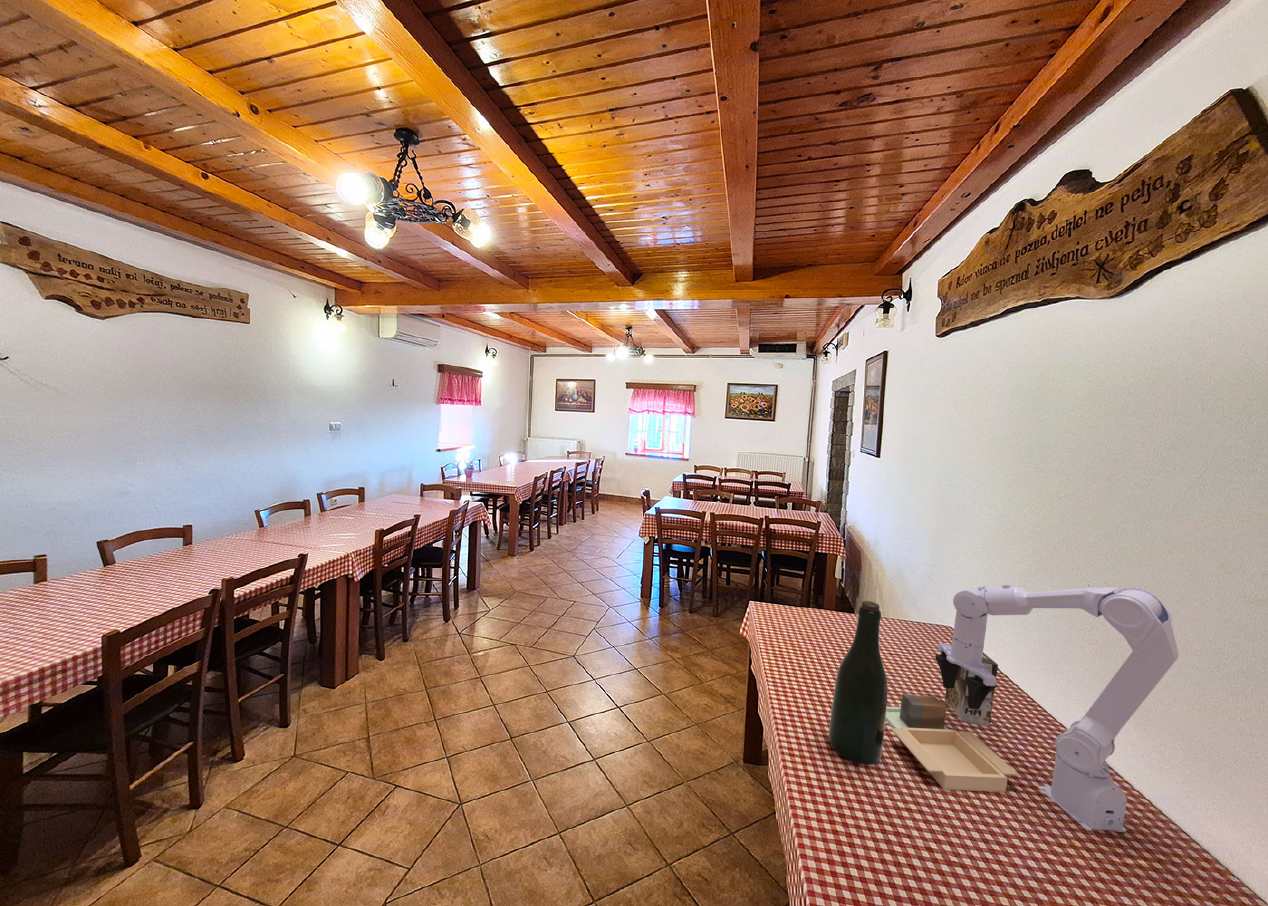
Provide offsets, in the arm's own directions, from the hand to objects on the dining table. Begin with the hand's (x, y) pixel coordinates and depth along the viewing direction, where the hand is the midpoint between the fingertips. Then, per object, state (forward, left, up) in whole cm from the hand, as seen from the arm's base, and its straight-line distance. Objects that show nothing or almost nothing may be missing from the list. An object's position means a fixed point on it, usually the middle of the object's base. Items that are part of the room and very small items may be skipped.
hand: (960, 697), depth 103 cm
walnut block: (+3, +6, -9) cm, 12 cm away
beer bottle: (-5, +27, -10) cm, 29 cm away
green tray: (+4, +8, -10) cm, 13 cm away
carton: (-9, +8, -10) cm, 16 cm away
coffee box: (+9, -10, -10) cm, 17 cm away
